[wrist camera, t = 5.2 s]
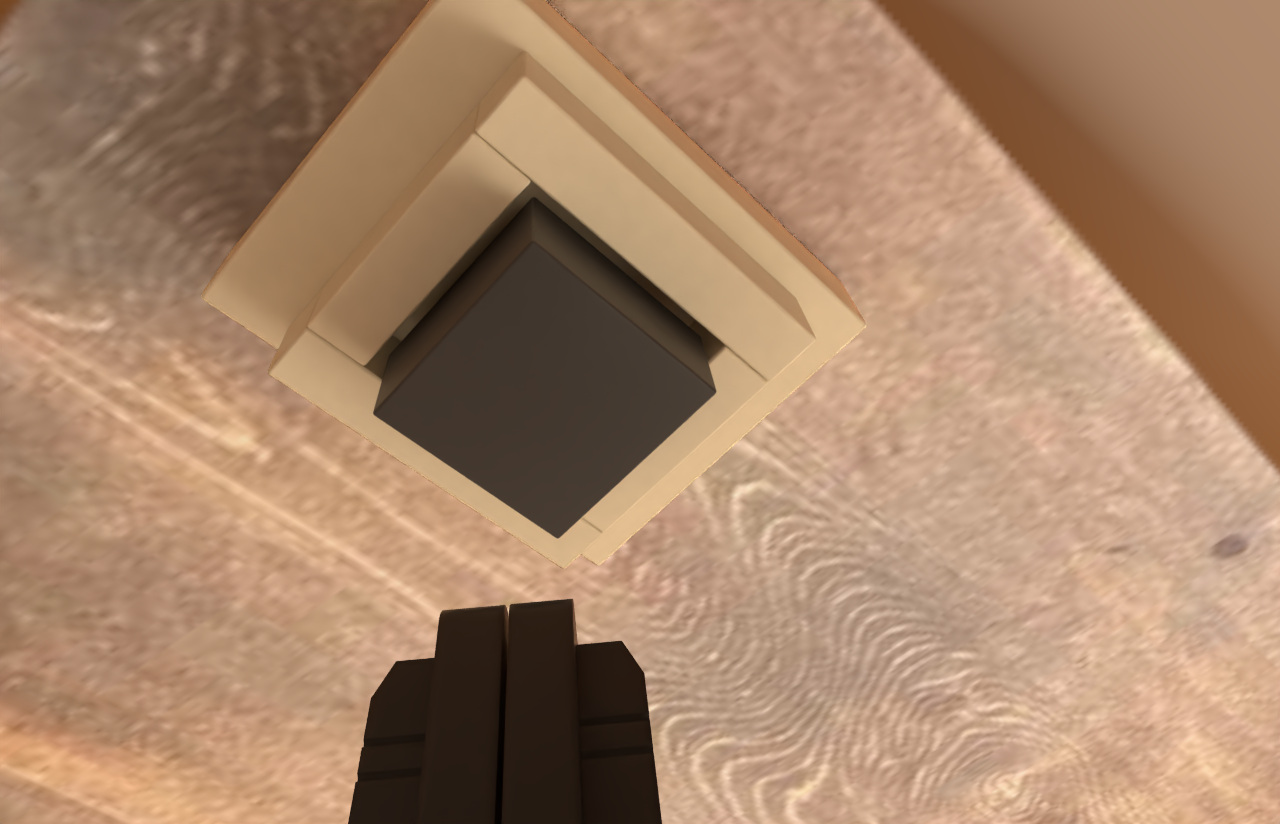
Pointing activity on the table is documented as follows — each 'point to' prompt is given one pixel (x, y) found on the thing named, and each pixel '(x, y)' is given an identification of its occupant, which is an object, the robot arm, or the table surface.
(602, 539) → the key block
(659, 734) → the table surface
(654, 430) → the black key
